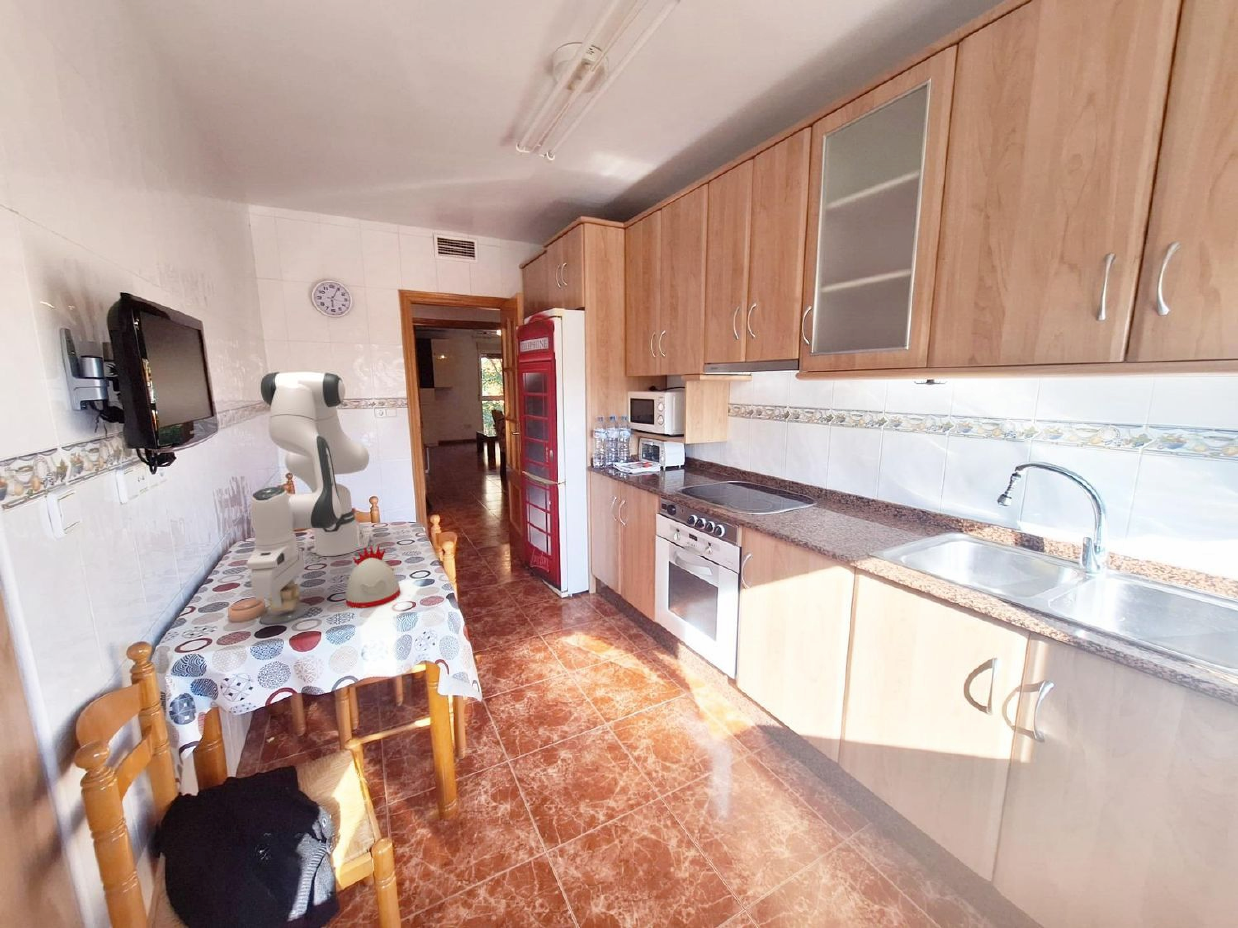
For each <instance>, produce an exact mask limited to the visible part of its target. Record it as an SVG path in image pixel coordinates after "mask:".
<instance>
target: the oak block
mask: <svg viewBox="0 0 1238 928" xmlns="http://www.w3.org/2000/svg"><path fill="white" fill-rule="evenodd" d="M279 595H280V597H281V598H283V602H284V603H283V604H282V605H281V606H280V607H274V606H273V601H272V600H271V599H267V600H268V605H269V606H268V607H269V610H270V612H273V611H283V610H292V609H293V608H294V607H295V606H296V605H297V604H298V603H301V600H300V599H301V598H300V591H299V586H298V583H295V584H291V585H286V586H285V587H284V588H282V589H281V590H280V594H279Z"/></svg>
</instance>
